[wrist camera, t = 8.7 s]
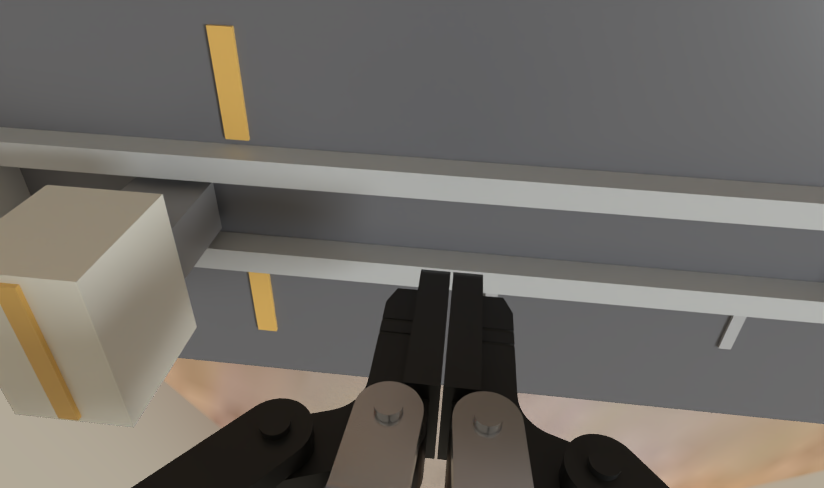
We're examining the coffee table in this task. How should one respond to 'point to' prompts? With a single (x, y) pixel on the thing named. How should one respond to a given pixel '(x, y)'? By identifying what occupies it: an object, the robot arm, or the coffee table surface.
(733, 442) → the coffee table surface
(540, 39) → the console
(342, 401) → the coffee table surface
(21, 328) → the fader
